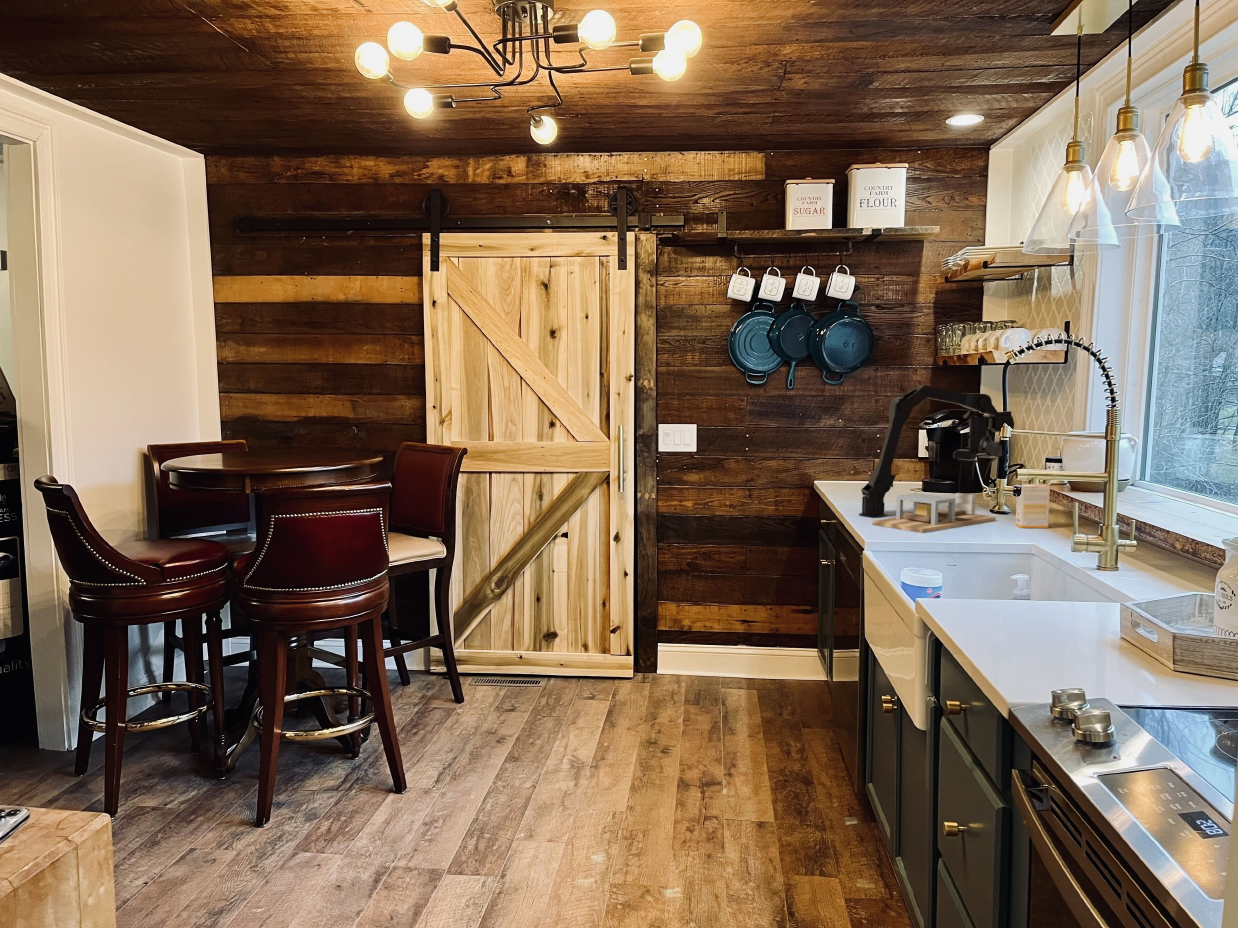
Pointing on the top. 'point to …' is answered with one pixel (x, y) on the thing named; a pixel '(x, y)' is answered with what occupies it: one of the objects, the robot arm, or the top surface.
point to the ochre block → (923, 509)
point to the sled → (962, 506)
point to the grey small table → (926, 499)
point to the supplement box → (1033, 506)
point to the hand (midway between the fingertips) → (976, 479)
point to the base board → (928, 527)
